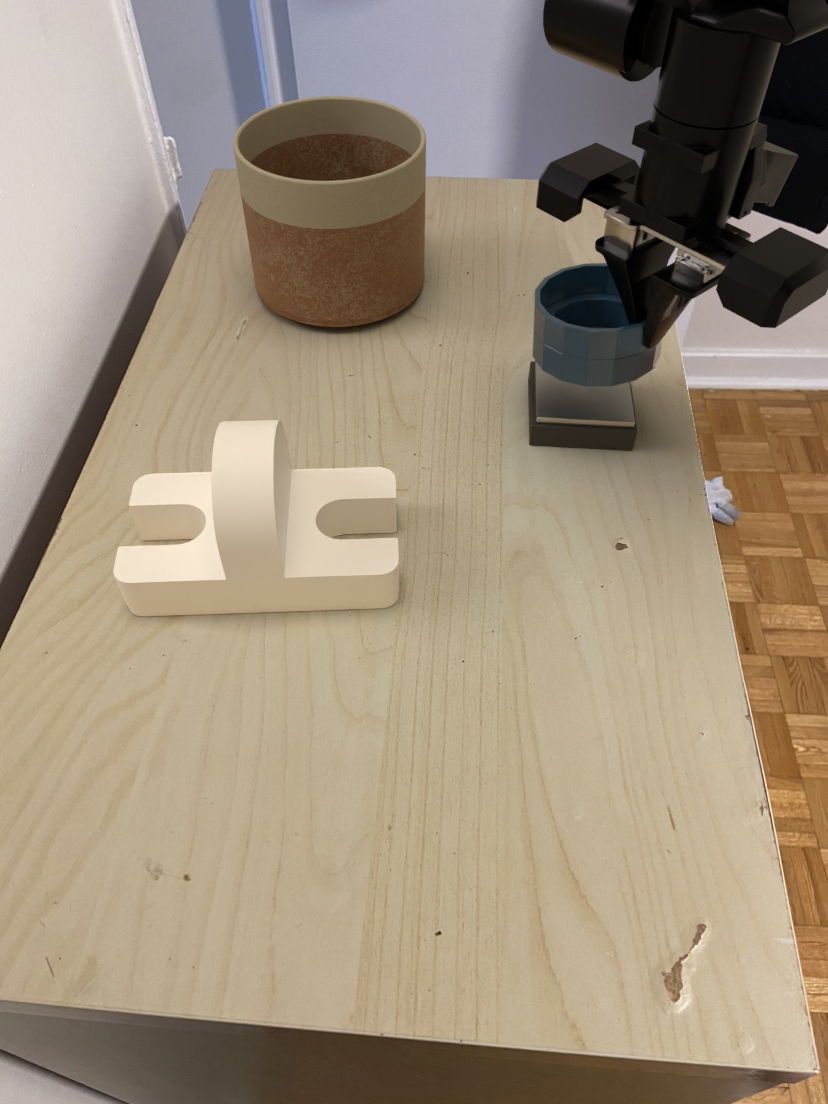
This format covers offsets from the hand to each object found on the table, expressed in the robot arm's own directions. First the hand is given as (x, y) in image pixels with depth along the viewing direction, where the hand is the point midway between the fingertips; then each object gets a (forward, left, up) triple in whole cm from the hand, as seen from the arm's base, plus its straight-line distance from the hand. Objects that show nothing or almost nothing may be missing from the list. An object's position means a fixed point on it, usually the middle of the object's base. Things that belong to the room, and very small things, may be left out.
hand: (646, 342), depth 58 cm
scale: (+4, -3, -10) cm, 11 cm away
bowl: (+3, -2, -3) cm, 5 cm away
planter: (+28, -15, -10) cm, 33 cm away
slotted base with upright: (+22, +18, -10) cm, 30 cm away
